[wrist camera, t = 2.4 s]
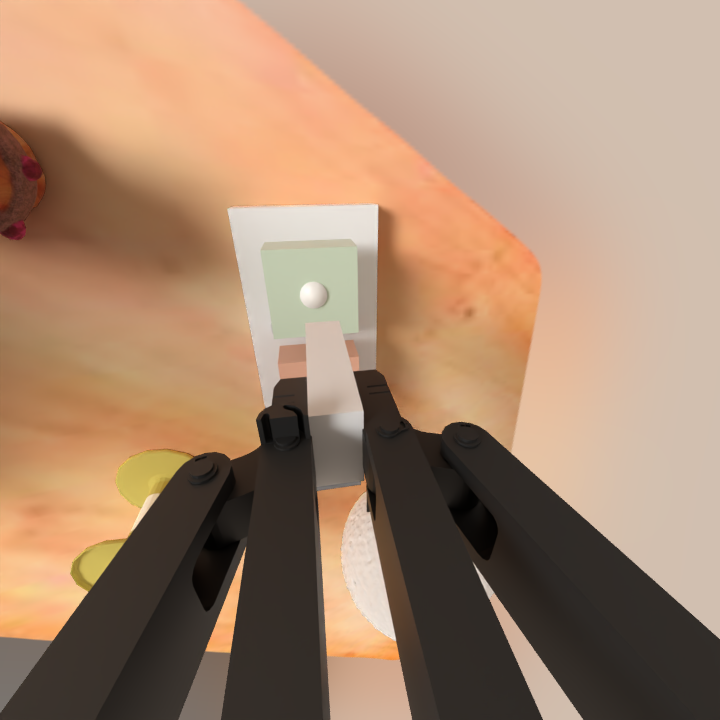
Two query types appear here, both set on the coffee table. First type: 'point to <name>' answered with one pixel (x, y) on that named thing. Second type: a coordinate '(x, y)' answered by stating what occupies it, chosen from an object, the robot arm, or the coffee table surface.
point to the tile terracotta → (295, 360)
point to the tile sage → (311, 284)
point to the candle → (141, 488)
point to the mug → (17, 183)
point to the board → (303, 225)
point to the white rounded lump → (369, 569)
